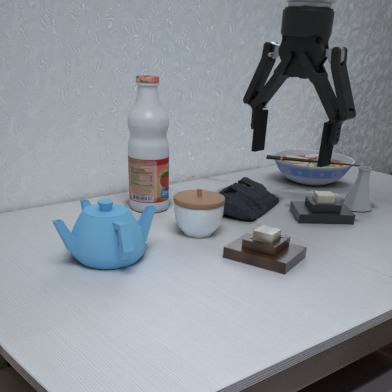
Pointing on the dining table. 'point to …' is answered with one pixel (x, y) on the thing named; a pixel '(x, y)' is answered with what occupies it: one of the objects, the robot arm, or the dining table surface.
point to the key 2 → (324, 197)
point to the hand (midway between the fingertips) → (289, 158)
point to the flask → (360, 192)
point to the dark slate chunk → (247, 200)
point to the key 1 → (267, 234)
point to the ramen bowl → (311, 166)
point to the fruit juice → (148, 148)
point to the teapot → (106, 234)
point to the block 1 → (265, 253)
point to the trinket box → (198, 211)
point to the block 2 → (321, 212)
